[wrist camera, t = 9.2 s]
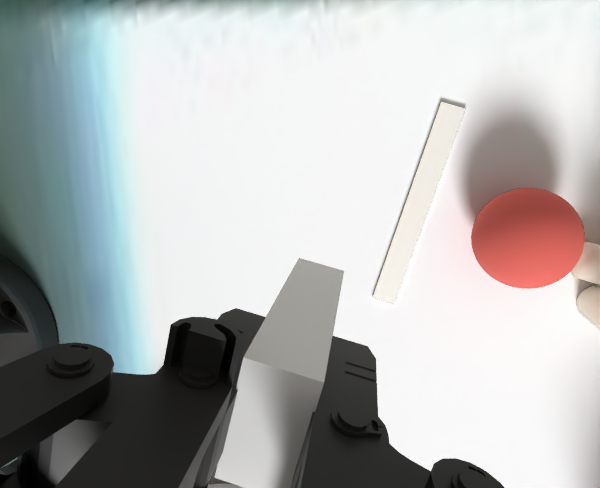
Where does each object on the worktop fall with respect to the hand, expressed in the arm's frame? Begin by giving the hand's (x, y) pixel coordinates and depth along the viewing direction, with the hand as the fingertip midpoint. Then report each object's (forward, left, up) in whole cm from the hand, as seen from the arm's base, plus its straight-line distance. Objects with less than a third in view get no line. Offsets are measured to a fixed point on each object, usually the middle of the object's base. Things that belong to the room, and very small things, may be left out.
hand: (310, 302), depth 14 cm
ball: (+11, +2, -14) cm, 18 cm away
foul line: (+4, +2, -17) cm, 18 cm away
